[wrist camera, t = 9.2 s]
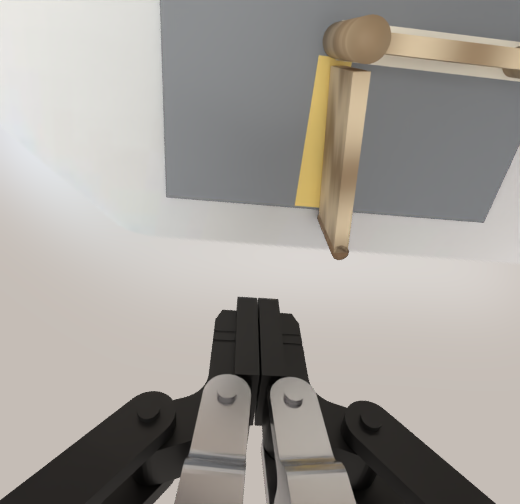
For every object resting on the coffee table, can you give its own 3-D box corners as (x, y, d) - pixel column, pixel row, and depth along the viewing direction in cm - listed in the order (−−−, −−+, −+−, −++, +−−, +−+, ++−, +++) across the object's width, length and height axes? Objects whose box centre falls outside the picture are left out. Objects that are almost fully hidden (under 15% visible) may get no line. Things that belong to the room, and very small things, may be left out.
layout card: (598, -38, 23) (604, -39, 23) (481, 220, 32) (484, 222, 32) (158, -103, 21) (156, -105, 20) (167, 195, 30) (166, 197, 30)
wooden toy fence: (532, 45, 25) (630, 46, 19) (518, 79, 27) (606, 92, 20) (324, 19, 24) (353, 11, 18) (318, 56, 25) (344, 61, 19)
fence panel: (329, 65, 25) (351, 71, 20) (346, 65, 25) (372, 71, 20) (316, 223, 31) (331, 260, 26) (330, 223, 31) (347, 259, 26)
